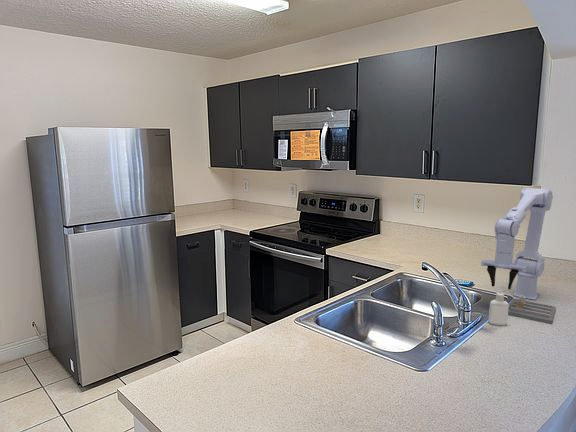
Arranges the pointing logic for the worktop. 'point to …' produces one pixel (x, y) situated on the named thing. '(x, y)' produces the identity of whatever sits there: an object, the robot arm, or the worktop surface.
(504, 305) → the eye dropper bottle
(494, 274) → the robot arm
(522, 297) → the grooved grey cube
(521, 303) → the oak tab
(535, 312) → the switch board
